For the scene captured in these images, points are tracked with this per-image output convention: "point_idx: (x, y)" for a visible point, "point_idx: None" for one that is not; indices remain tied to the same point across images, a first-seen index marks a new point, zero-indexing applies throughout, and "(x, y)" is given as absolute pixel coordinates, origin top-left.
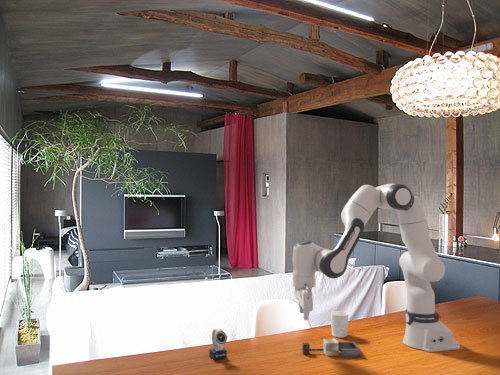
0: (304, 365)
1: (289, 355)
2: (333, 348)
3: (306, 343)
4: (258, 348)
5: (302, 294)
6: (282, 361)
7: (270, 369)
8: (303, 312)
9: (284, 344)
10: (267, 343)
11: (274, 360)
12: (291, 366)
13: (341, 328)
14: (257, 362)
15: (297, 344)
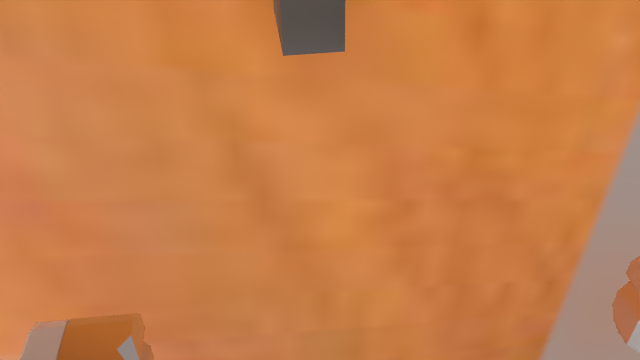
0: (577, 24)
1: (341, 132)
2: None
3: (305, 8)
4: (197, 327)
5: None
6: (458, 184)
7: (570, 248)
8: (137, 331)
9: (60, 165)
10: (71, 285)
11: (431, 232)
12: (564, 127)
13: None
14: (447, 314)
15: (23, 41)
